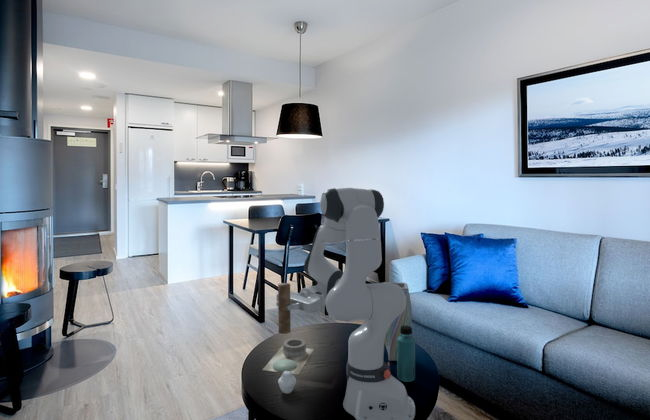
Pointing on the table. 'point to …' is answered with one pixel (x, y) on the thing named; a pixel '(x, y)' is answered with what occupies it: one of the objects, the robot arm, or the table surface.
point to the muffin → (287, 382)
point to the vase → (398, 324)
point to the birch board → (291, 354)
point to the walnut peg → (284, 308)
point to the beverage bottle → (406, 355)
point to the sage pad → (284, 365)
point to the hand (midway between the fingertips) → (282, 306)
